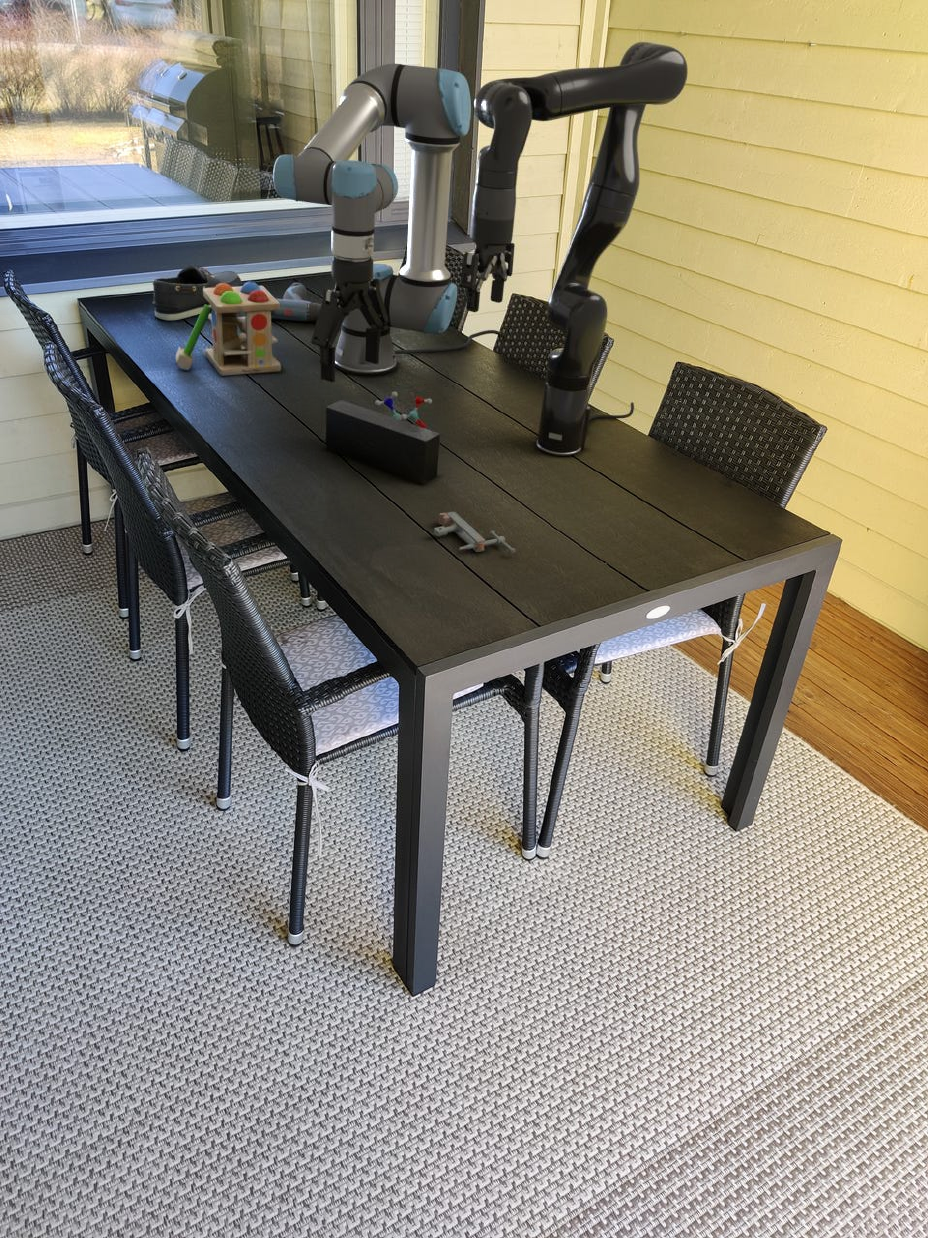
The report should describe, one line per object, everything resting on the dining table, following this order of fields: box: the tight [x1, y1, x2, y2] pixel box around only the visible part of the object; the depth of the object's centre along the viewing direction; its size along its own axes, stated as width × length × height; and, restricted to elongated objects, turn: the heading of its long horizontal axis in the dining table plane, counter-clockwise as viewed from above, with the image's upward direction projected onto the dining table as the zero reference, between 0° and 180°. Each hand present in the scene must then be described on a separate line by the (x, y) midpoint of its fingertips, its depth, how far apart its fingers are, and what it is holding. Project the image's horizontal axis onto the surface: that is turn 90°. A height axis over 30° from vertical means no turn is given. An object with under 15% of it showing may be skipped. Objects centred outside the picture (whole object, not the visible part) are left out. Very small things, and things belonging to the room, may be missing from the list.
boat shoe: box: [151, 264, 243, 321], centre depth 263 cm, size 13×33×10 cm, turn 147°
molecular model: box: [374, 391, 433, 429], centre depth 205 cm, size 12×10×10 cm
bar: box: [325, 399, 441, 486], centre depth 191 cm, size 24×5×9 cm, turn 58°
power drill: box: [271, 282, 322, 322], centre depth 265 cm, size 5×19×20 cm
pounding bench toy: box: [174, 281, 282, 377], centre depth 225 cm, size 23×14×18 cm, turn 116°
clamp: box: [433, 511, 516, 555], centre depth 170 cm, size 15×2×10 cm
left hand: (350, 371), depth 188 cm, fingers open, 13 cm apart
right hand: (484, 306), depth 179 cm, fingers open, 8 cm apart
